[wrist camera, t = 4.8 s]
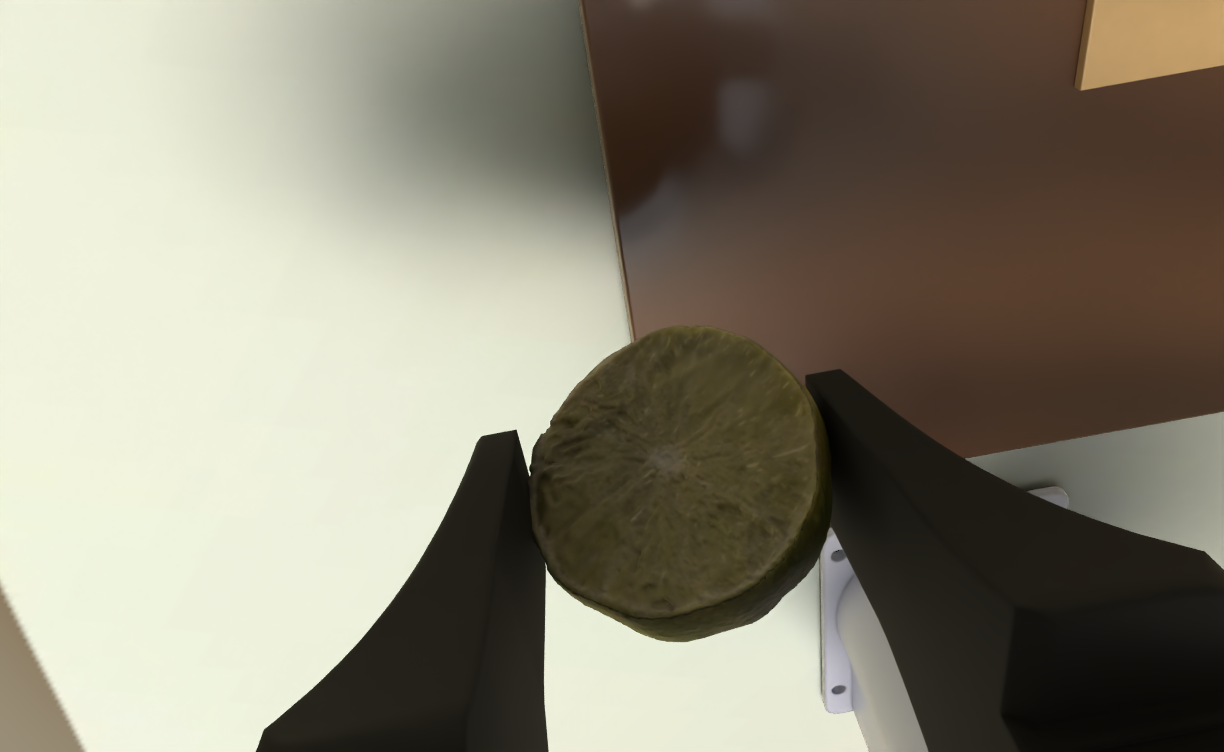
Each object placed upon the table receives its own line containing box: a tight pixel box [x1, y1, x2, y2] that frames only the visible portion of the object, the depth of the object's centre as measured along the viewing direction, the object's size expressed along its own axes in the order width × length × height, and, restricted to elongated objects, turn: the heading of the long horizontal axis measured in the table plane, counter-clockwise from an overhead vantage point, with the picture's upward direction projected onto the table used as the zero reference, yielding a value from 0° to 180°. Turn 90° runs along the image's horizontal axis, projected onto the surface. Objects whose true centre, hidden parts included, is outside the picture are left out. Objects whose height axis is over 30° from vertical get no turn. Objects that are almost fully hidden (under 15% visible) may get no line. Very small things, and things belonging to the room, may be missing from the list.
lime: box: [528, 325, 832, 642], centre depth 15 cm, size 4×5×5 cm
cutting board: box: [578, 0, 1224, 459], centre depth 21 cm, size 18×18×2 cm
